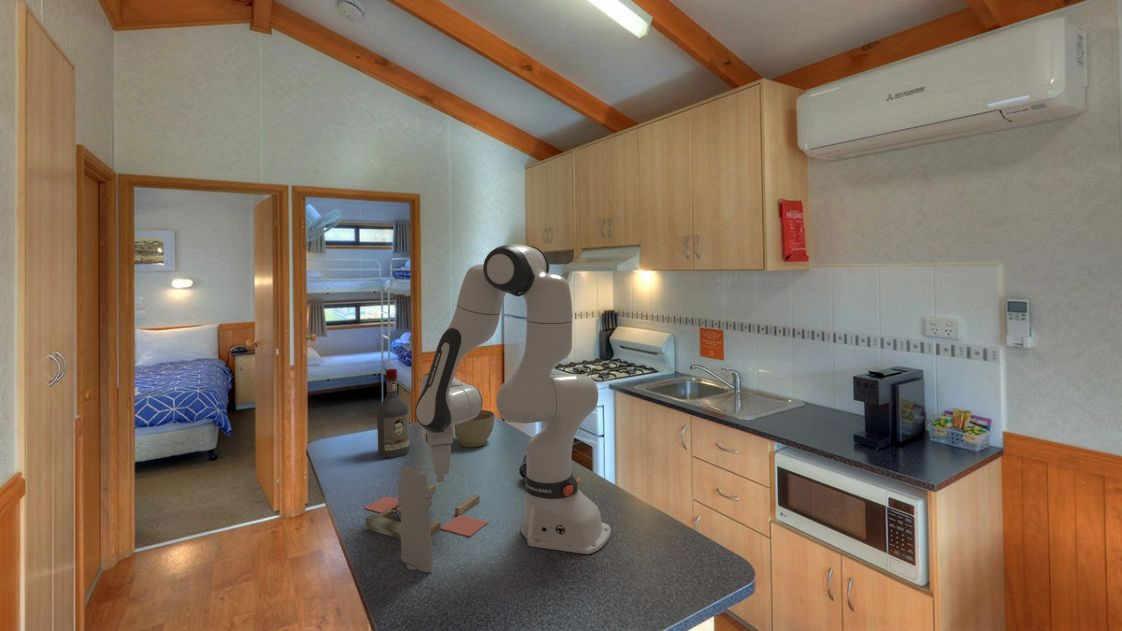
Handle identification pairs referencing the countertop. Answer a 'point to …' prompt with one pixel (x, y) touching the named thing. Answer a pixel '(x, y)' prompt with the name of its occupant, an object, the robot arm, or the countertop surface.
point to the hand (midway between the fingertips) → (440, 480)
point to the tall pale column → (415, 520)
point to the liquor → (392, 421)
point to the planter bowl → (475, 429)
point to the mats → (457, 525)
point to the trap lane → (393, 528)
